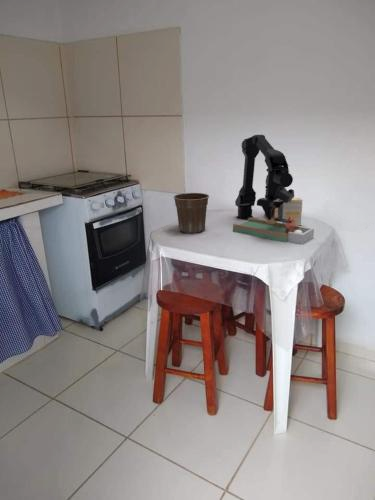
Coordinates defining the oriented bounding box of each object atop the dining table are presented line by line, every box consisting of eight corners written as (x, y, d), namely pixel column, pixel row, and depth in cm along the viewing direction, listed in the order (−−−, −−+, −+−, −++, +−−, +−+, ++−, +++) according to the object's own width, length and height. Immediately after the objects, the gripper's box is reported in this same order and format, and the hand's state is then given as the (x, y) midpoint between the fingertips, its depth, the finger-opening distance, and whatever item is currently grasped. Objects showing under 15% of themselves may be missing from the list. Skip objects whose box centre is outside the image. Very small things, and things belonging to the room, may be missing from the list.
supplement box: (299, 224, 189) (301, 197, 185) (300, 227, 185) (302, 199, 181) (281, 224, 190) (283, 197, 186) (282, 227, 186) (284, 199, 181)
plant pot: (173, 225, 192) (172, 193, 186) (206, 224, 193) (206, 191, 188) (175, 235, 177) (174, 200, 171) (211, 234, 178) (211, 198, 172)
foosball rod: (264, 228, 175) (265, 207, 172) (270, 226, 178) (271, 205, 175) (289, 233, 167) (291, 211, 164) (295, 230, 171) (296, 209, 168)
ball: (300, 240, 165) (291, 239, 168) (304, 238, 168) (296, 237, 171) (300, 231, 164) (291, 230, 167) (304, 229, 167) (295, 228, 170)
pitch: (232, 231, 181) (233, 223, 179) (249, 224, 191) (249, 216, 189) (300, 245, 161) (301, 235, 159) (314, 236, 171) (315, 227, 169)
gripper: (281, 188, 157) (278, 226, 162) (301, 181, 170) (298, 216, 175) (256, 185, 164) (255, 222, 169) (278, 179, 177) (276, 213, 182)
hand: (272, 218), depth 174 cm, fingers open, 5 cm apart
